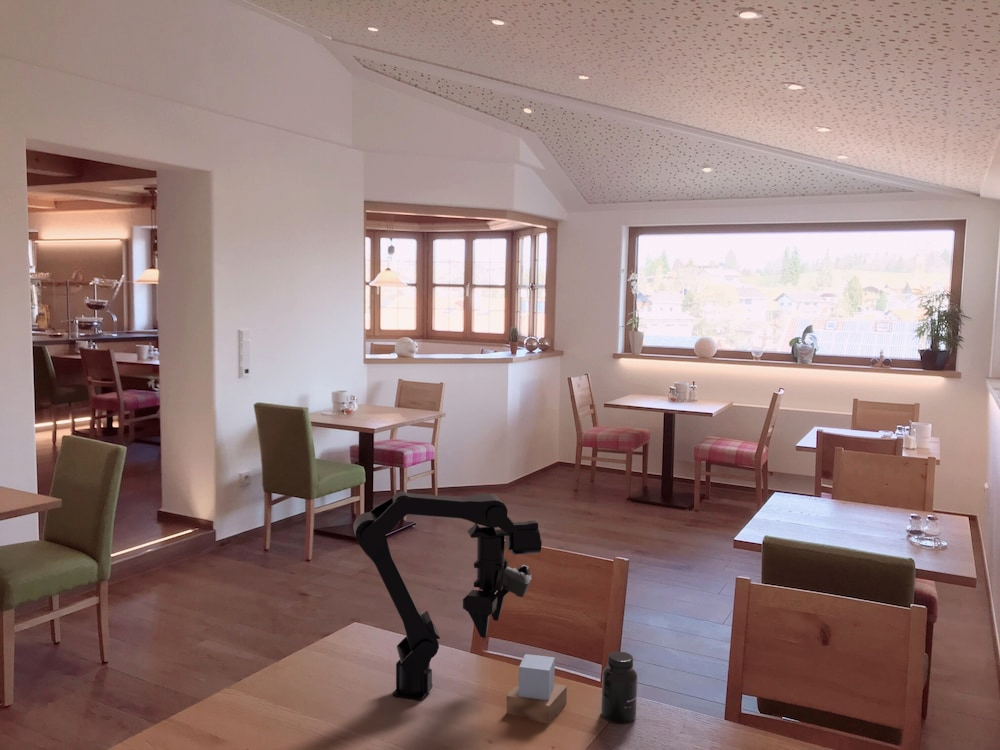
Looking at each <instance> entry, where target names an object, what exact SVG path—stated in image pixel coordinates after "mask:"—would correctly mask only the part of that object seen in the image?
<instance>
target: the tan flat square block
mask: <svg viewBox="0 0 1000 750" xmlns="http://www.w3.org/2000/svg"><path fill="white" fill-rule="evenodd" d="M567 690H568V687H567V685H562V684H559V683H555V682H554V688H553V691H552V693H551V696H550V699H549V700H541V699H534V698H526V697H519V696H518V695H519V683H518V684H517V685H516V686H515V687H513V688H512V690H511V691H510V692H509V693H508V694H507V695H506V714H509V715H513V716H515V717H519V718H524V719H527V720H531V721H535V722H538V721H539V723H542V722H543V723H542V724H546V725H550V723H551V722H553V720H554V719H555V718H556V716H558V714H559V713H560V712H561V711H562V710H563V708H564V707H565V706H566V705H567V701H568V700H567V697H568V696H567V695H568V693H567V692H568V691H567ZM565 704H566V705H565ZM564 705H565V706H564ZM563 706H564V707H563ZM560 710H561V711H560ZM559 711H560V712H559ZM554 717H555V718H554Z"/></svg>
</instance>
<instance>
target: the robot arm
mask: <svg viewBox="0 0 1000 750" xmlns="http://www.w3.org/2000/svg"><path fill="white" fill-rule="evenodd" d="M407 515H410V516H411V515H412V516H413V515H414V516H424V517H425V516H426V517H439V518H450V519H451V518H452V519H461V520H465V521H467V522H468V521H469V522H471V523H474V524H473V526H472V527H470V528H469V529H468V530H467V532H466V533H467V534H468V535H469V537H470V538H471V539H474V538H475V539H476V561H475V562H473V568H474V569H476V579H475V581H474V582H473V588H478V589H480V590H478V589H471V590H470V591H469V592H467V594H466V596H465V597H463V598H462V609H463V610H465V612H467V613H468V614H469V616H470V618H471V619H472V623H473V624H474V626H475V628H476V630H477V633H478V635H479V637H480V638H484V639H486V637H487V635H488V629H489V623H490V617H492V620H493V621H497V622H498V621H499V620H500V616H501V612H502V608H503V604H504V601H505V597H506V596H507V594H508V593H512V594H515V596H516V597H519V598H523V597H524V596H525V594H526V593H528V592H527V591H528V589H529V587H530V584H531V582H532V580H533V578H532V576H533V575H532V574H531V572H530V566H528V565H525V564H522V565H520V566H519V567H518V568H517V567H514V568H513V567H510V566H509V560H508V558H505V548H506V551H507V552H508V551H510V552H511V555H512V556H521V555H523V556H524V555H534V554H535V555H536V554H538V555H539V554H540V553H541V552H542V545H543V544H542V543H543V542H542V539H541V533H540V529H539V523H538V522H537V521H536V520H529V521H523V522H522V521H518V522H513V520H512V519H511V518H510V517H509V516H508V508H507V506H506V504H504V502H503V501H502V500H501V499H500V498H499V497H498V496H497V495H495V494H492V493H481V494H473V495H469V496H464V497H458V496H457V497H455V496H448V495H447V496H445V495H434V494H424V493H423V494H422V493H413V492H406V491H398V492H396V493H394V494H393V495H392V496H391V497H390V498H388V499H387V500H385V501H383V502H381V503H380V504H378V505H377V506H375V507H373V509H371V510H370V511H369V512H363V513H361V514H359V515H357V517H356V518H355V520H354V522H353V532H354V537H355V540H356V543H357V544H358V545H359V546H360V548H361V550H362V551H363V552H364V553H365V555H366V556H367V557H368V558H369V559H370V560H371V562H373V564H374V565H375V567H376V569H377V571H378V574H379V576H380V578H381V580H382V581H383V583H384V586H385V588H386V590H387V592H388V594H389V596H390V599H391V600H392V602H393V605H394V607H395V608H396V610H397V613H398V614H399V617H400V619H401V620H402V625H403V628H404V633H405V636H404V638H403V639H402V640H401V641H400V642H399V643H398V644H397V645H396V650H397V653H398V657H399V660H398V661H397V662H396V663H395V677H396V678H395V686H396V687H395V690H394V691H393V692H392V696H394V697H400V698H406V699H412V700H417V701H423V699H424V698H425V697H426V695H427V694H428V693H429V692H430V691H431V689H432V688H433V670H432V668H431V667H430V665H431V660H432V659H433V658H434V657H435V656H436V655H437V654H438V651H439V649H440V645H439V641H438V640H440V639H441V636H440V635H439V631H438V629H437V627H436V625H435V623H433V621H432V618H431V615H430V613H429V611H428V610H426V611H425V612H423V613H422V612H421V611H420V610H419V609H418V608H417V606H416V605H417V604H415V601H414V599H413V597H412V596H411V594H410V591H409V589H408V587H407V585H406V583H405V580H404V579H403V577H402V575H401V572H400V570H399V568H398V566H397V564H396V562H395V560H394V557H393V556H392V554H391V551H390V547H389V543H388V538H387V535H388V534H389V533H390V532H391V531H392V530H393V529H394V528H395V527H396V526H397V525H398V524H399V522H400V521H402V520H403V518H405V517H406V516H407ZM479 525H480V526H479ZM497 528H499V529H497Z"/></svg>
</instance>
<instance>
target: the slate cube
mask: <svg viewBox="0 0 1000 750" xmlns="http://www.w3.org/2000/svg"><path fill="white" fill-rule="evenodd" d="M555 661H556V659H555V657H554V656H547V655H546V656H545V655H538V654H528V653H525V654H524V656H523V658H522V660H521V662H520V665H519V666H518V684H519V695H518V696H519V697H526V698H534V699H541V700H549V699H550V696H551V693H552V691H553V688H554V683H555V670H556V669H555V665H556V664H555V663H556V662H555Z"/></svg>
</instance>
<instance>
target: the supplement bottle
mask: <svg viewBox="0 0 1000 750" xmlns="http://www.w3.org/2000/svg"><path fill="white" fill-rule="evenodd" d="M601 676H602V677H601V705H600V707H601V708H600V712H601V715H602V717H603V718H604V719H605V720H607V721H609V722H610V723H611V722H612V723H615V724H626V723H627V724H628V723H630V722H633V721H634V720H635V719H636V716H637V705H638V704H637V699H638V678H639V677H638V673H637V671H636V670H635V669H634V657H633V655H632V654H630V653H628V652H625V651H613V652H610V653H609V654H608V655H607V666H606V667H604V669H603V671H602V675H601Z"/></svg>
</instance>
